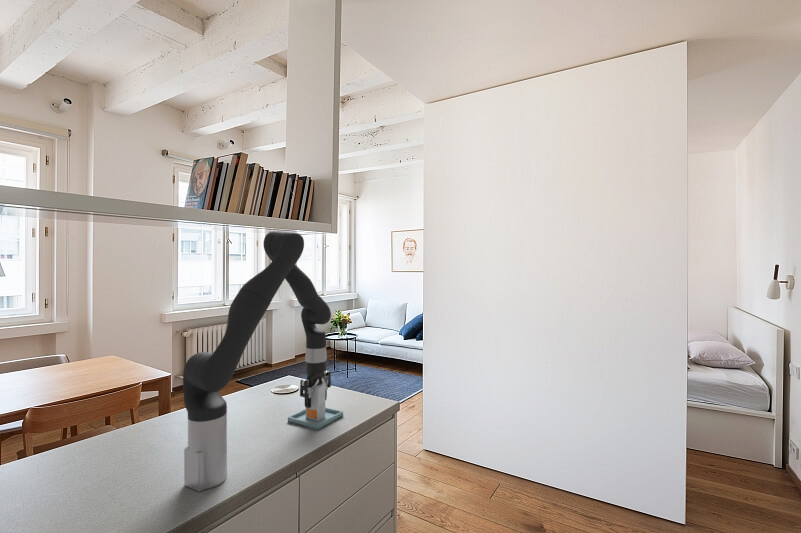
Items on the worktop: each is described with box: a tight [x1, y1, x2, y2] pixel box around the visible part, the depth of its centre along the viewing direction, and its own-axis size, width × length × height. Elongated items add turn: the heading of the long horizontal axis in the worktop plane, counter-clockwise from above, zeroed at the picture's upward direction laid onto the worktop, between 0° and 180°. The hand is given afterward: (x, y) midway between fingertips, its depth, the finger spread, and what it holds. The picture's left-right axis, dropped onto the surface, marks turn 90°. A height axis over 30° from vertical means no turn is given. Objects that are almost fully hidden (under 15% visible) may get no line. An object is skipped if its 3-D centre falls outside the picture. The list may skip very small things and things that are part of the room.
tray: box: [287, 406, 344, 431], centre depth 145 cm, size 14×14×2 cm
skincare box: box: [305, 384, 326, 421], centre depth 145 cm, size 6×4×12 cm
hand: (316, 403), depth 145 cm, fingers open, 8 cm apart
